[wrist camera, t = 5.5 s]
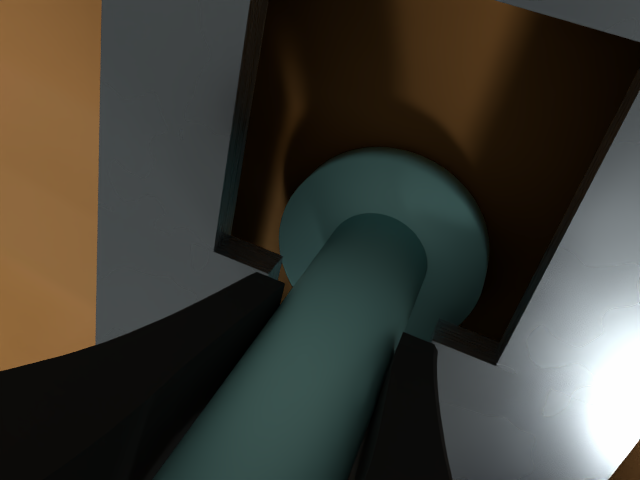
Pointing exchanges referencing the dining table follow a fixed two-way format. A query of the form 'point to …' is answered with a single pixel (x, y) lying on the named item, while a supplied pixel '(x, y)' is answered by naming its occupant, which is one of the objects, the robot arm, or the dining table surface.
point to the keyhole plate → (245, 258)
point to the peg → (341, 317)
